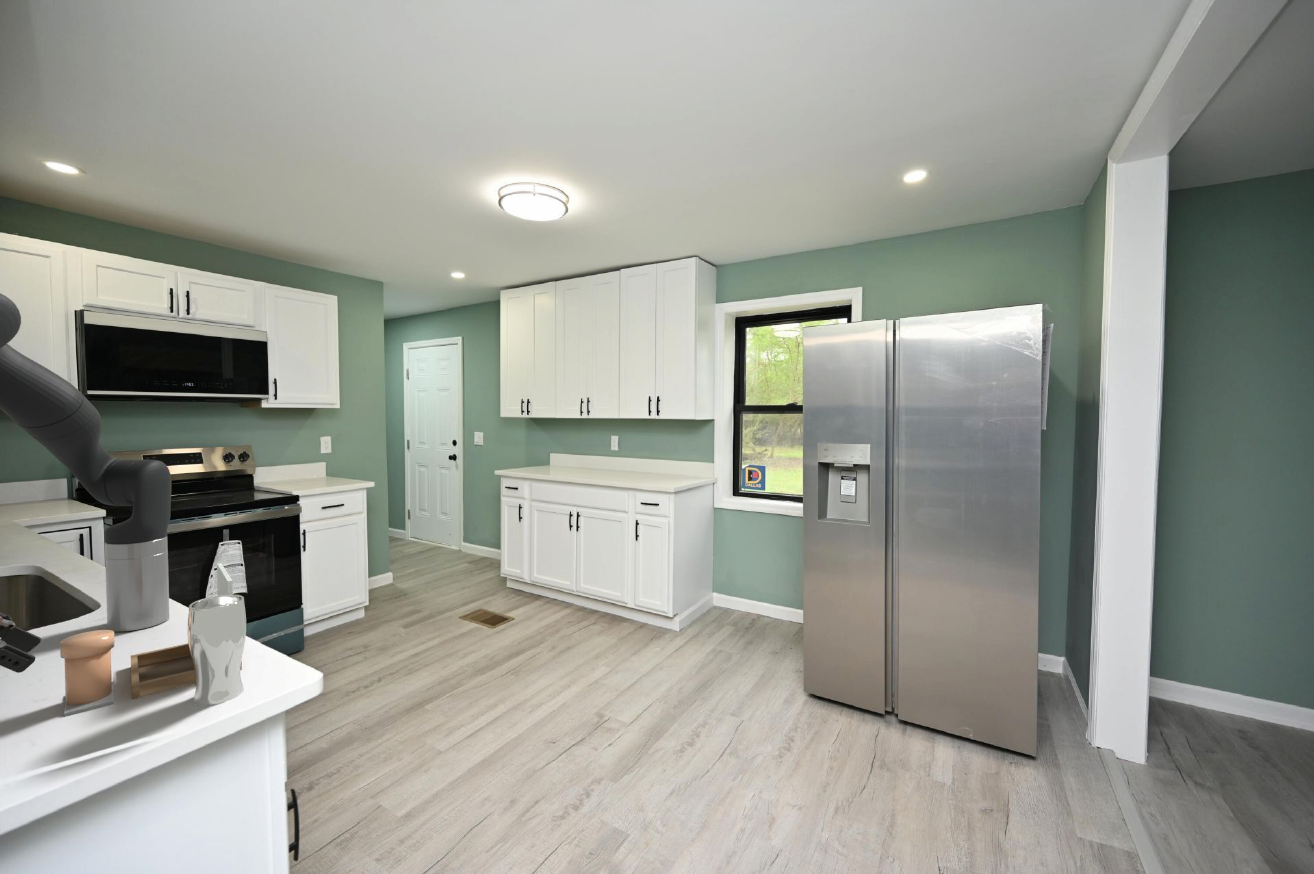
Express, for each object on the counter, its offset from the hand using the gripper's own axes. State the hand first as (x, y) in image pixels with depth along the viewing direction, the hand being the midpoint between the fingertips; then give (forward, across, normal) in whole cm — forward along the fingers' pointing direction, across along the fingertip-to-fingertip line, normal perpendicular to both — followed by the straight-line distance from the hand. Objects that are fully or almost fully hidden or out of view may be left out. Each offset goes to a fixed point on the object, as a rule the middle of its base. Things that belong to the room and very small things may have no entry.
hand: (32, 655), depth 78 cm
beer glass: (+20, -11, -7) cm, 24 cm away
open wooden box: (+18, +3, -6) cm, 19 cm away
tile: (+10, 0, +2) cm, 11 cm away
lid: (+17, +3, -14) cm, 22 cm away
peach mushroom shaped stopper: (+10, 0, +2) cm, 10 cm away
